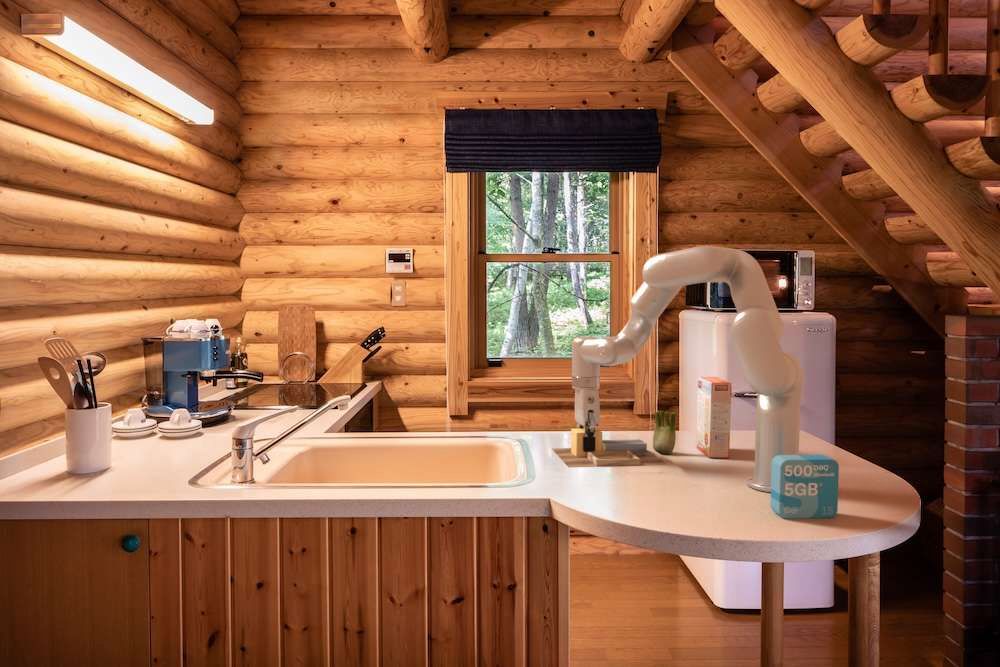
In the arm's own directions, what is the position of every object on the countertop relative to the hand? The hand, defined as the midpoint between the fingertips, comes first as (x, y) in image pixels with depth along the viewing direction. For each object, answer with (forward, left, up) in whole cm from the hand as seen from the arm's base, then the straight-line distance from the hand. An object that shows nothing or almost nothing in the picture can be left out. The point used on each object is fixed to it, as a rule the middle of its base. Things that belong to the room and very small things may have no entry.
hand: (585, 448), depth 199 cm
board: (-3, -5, -3) cm, 7 cm away
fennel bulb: (+4, -23, -3) cm, 24 cm away
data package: (-54, -32, -3) cm, 63 cm away
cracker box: (+3, -37, -3) cm, 37 cm away
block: (0, 0, -2) cm, 2 cm away
